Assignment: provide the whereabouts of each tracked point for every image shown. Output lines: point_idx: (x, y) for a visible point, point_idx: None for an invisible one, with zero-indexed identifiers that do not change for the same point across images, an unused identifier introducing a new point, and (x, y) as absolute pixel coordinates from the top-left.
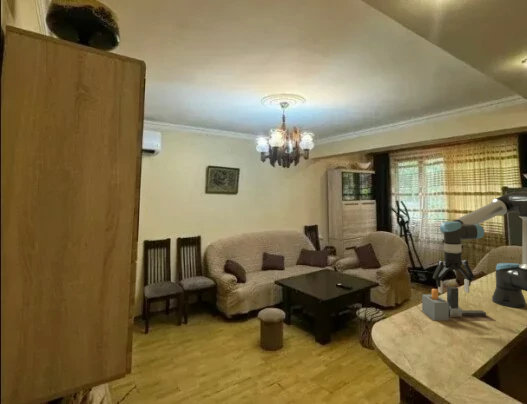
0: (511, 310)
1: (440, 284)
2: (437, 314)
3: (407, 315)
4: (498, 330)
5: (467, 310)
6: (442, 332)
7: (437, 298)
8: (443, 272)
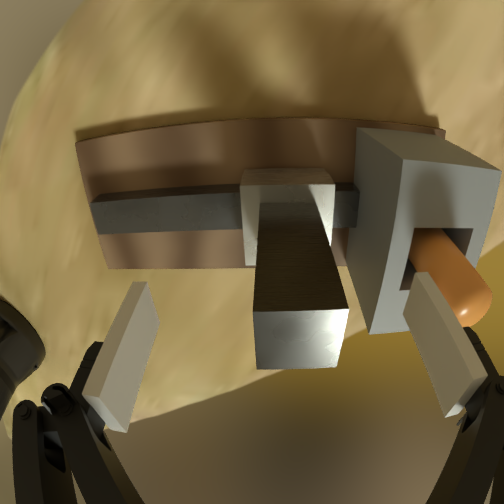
0: (6, 277)
1: (465, 347)
2: (437, 141)
3: None
4: (120, 37)
5: (177, 230)
6: (450, 19)
7: (439, 243)
8: (482, 497)
